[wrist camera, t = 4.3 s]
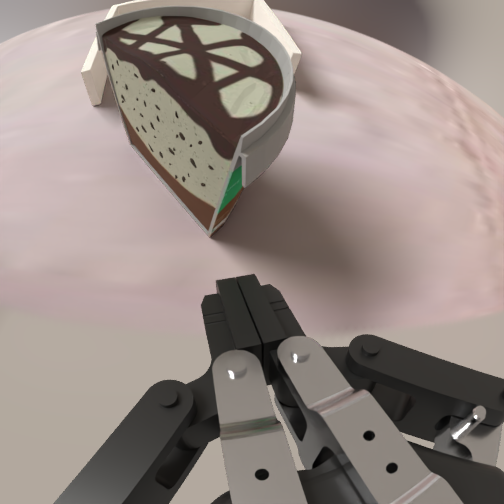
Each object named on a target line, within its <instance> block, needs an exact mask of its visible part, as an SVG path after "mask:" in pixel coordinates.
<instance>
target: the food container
mask: <svg viewBox="0 0 504 504" xmlns="http://www.w3.org/2000/svg"><path fill="white" fill-rule="evenodd" d="M96 30H97V32H96V38H97V45H98V50H99V51H100V50H101V51H102V55H103V59H104V62H105V66H106V70H107V73H108V77H109V80H110V84H111V87H112V91H113V94H114V97H115V100H116V104H117V107H118V110H119V113H120V116H121V119H122V122H123V125H124V128H125V131H126V134H127V137H128V140H129V143H130V145H131V146H132V148H133V149H134V150H135V151H136V152H137V154H138V155H139V156H140V157H141V158H142V160H143V161H144V162H145V163H146V164H147V165H148V167H149V168H150V169H151V170H152V171H153V173H154V174H155V175H156V176H157V177H158V179H159V180H160V181H161V182H162V183H163V184H164V186H165V187H166V188H167V189H168V190H169V191H170V193H171V194H172V195H173V196H174V197H175V198H176V200H177V201H178V202H179V203H180V204H181V205H182V207H183V208H184V209H185V210H186V211H187V212H188V214H189V215H190V216H191V217H192V218H193V219H194V220H195V222H196V223H197V224H198V225H199V226H200V227H201V228H202V230H203V231H204V232H205V233H206V234H207V235H208V236H209V238H210V237H211V236H212V235H213V234H214V233H215V232H216V231H218V230H219V229H220V228H221V227H222V226H223V225H224V223H225V221H226V220H227V218H228V216H229V215H230V213H231V211H232V210H233V208H234V206H235V205H236V202H237V200H238V198H239V196H240V194H241V192H242V190H243V188H244V187H245V188H246V187H247V186H248V185H250V184H251V183H252V182H253V181H254V180H255V179H257V178H258V177H259V176H260V175H261V174H263V173H264V172H265V170H266V169H267V168H268V167H269V166H270V165H271V163H272V162H273V161H274V160H275V159H276V158H277V156H278V155H279V153H280V152H281V150H282V148H283V146H284V144H285V143H286V141H287V139H288V136H289V133H290V129H291V126H292V122H293V113H294V104H295V92H296V81H295V77H294V73H293V66H292V62H291V59H290V56H289V54H288V52H287V51H286V49H285V47H284V46H283V45H282V44H281V42H280V41H279V40H278V39H277V38H276V37H275V36H274V35H273V34H271V33H270V32H269V31H268V30H266V29H265V28H263V27H262V26H260V25H258V24H257V23H255V22H253V21H251V20H249V19H246V18H244V17H242V16H239V15H236V14H233V13H230V12H226V11H223V10H218V9H213V8H207V7H198V6H162V7H154V8H147V9H141V10H137V11H132V12H128V13H124V14H121V15H118V16H115V17H112V18H109V19H107V20H104V21H102V22H99V23H97V24H96Z"/></svg>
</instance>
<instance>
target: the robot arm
mask: <svg viewBox="0 0 504 504" xmlns="http://www.w3.org/2000/svg"><path fill="white" fill-rule="evenodd" d="M216 288H217V294H212V295H206V296H205V297H204V299H203V301H202V304H201V308H202V314H203V319H204V324H205V330H206V335H207V340H208V344H209V349H210V354H211V358H212V361H211V365H210V367H209V369H208V371H207V372H206V373H205V374H204V375H203V376H201V377H200V378H198V379H196V380H194V381H192V382H190V383H188V384H184V383H182V382H180V381H176V380H164V381H160V382H158V383H156V384H154V385H153V386H151V387H150V388H149V389H148V391H147V392H146V393H145V394H144V396H143V397H142V398H141V399H140V401H139V402H138V403H137V404H136V405H135V407H134V408H133V409H132V410H131V411H130V412H129V414H128V415H127V416H126V417H125V419H124V420H123V421H122V422H121V423H120V425H119V426H118V427H117V428H116V429H115V431H114V432H113V433H112V434H111V435H110V437H109V438H108V439H107V440H106V442H105V443H104V444H103V445H102V446H101V448H100V449H99V450H98V451H97V452H96V454H95V455H94V456H93V457H92V458H91V460H90V461H89V462H88V463H87V464H86V466H85V467H84V468H83V469H82V470H81V472H80V473H79V474H78V475H77V476H76V477H75V479H74V480H73V481H72V482H71V483H70V485H69V486H68V487H67V488H66V489H65V491H64V492H63V493H62V494H61V495H60V496H59V498H58V499H57V500H56V501H55V502H54V504H169V502H170V501H171V500H172V498H173V497H174V495H175V494H176V492H177V491H178V489H179V488H180V486H181V485H182V483H183V482H184V480H185V479H186V477H187V476H188V474H189V473H190V471H191V470H192V468H193V467H194V465H195V464H196V462H197V460H198V459H199V457H200V456H201V454H202V452H203V451H204V449H205V448H206V446H207V444H208V442H210V441H212V440H214V439H216V438H218V437H220V439H221V445H222V451H223V457H224V463H225V469H226V474H227V479H228V485H229V491H227V492H226V493H224V494H222V495H221V496H220V497H218V498H217V499H215V500H214V501H213V502H212V503H211V504H504V472H503V471H502V470H501V469H499V468H497V467H496V462H497V457H498V451H499V445H500V438H501V431H502V424H503V422H504V379H502V378H498V377H495V376H492V375H488V374H485V373H482V372H479V371H476V370H473V369H470V368H466V367H463V366H460V365H457V364H454V363H451V362H448V361H445V360H442V359H439V358H436V357H433V356H431V355H428V354H425V353H422V352H419V351H416V350H413V349H410V348H407V347H405V346H402V345H399V344H397V343H394V342H391V341H388V340H386V339H383V338H380V337H377V336H374V335H368V334H366V335H360V336H357V337H355V338H354V339H353V340H352V341H351V342H350V345H349V347H323V346H321V345H320V344H319V343H318V342H317V341H315V340H314V339H312V338H309V337H306V335H305V334H304V332H303V330H302V329H301V327H300V325H299V323H298V322H297V320H296V318H295V317H294V315H293V313H292V312H291V310H290V309H289V306H288V305H287V303H286V301H285V300H284V298H283V296H282V294H281V293H280V291H279V290H277V289H276V288H275V287H273V286H272V285H270V284H268V285H263V286H261V285H260V283H259V281H258V279H257V277H256V276H255V274H251V275H245V276H239V277H236V278H235V277H234V278H228V279H222V280H216ZM267 385H272V387H273V390H274V392H275V398H274V399H275V403H276V406H277V408H278V410H279V411H280V414H281V416H282V417H283V419H284V421H285V423H286V425H287V427H288V429H289V431H290V433H291V435H292V436H293V438H294V440H295V442H296V444H297V447H298V451H299V456H300V459H301V461H302V464H303V465H304V467H305V469H306V470H300V471H297V470H296V467H295V464H294V460H293V457H292V454H291V451H290V448H289V444H288V441H287V438H286V435H285V432H284V429H283V426H282V424H281V422H280V421H278V420H277V418H276V416H275V412H274V409H273V405H272V402H271V399H270V395H269V392H268V388H267ZM400 432H402V433H405V434H408V435H412V436H415V437H418V438H421V439H424V440H427V441H431V442H434V443H435V445H434V448H433V449H430V448H427V447H424V446H421V445H418V444H416V443H412V442H410V441H406V439H405V438H404V437H403V435H402V434H401V433H400Z"/></svg>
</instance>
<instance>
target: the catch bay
mask: <svg viewBox="0 0 504 504" xmlns="http://www.w3.org/2000/svg"><path fill="white" fill-rule="evenodd" d="M162 6H198V7H207V8H213V9H218V10H223V11H226V12H230V13H233V14H236V15H239V16H242V17H244V18H246V19H249V20H251V21H253V22H255V23H257V24H258V25H260V26H262V27H263V28H265V29H266V30H268V31H269V32H270V33H271V34H273V35H274V36H275V37H276V38H277V39H278V40H279V41H280V42H281V44H282V45H283V46H284V47H285V49H286V51H287V52H288V54H289V56H290V59H291V62H292V66H293V73H294V74H295V71H296V69H297V66H298V63H299V61H300V58H301V55H302V53H301V51H300V50H299V48H298V47H297V45H296V44H295V42H294V41H293V39H292V38H291V37H290V35H289V34H288V32H287V31H286V29H285V28H284V27H283V25H282V24H281V22H280V21H279V20H278V18H277V17H276V16H275V14H274V13H273V12H272V11H271V9H270V8H269V7H268V5H267V4H266V3H265V2H264V0H136V1H131V2H126V3H122V4H117V5H113V6H112V7H111V9H110V11H109V12H108V14H107V16H106V18H105V20H107V19H109V18H112V17H115V16H118V15H121V14H124V13H128V12H132V11H137V10H141V9H147V8H154V7H162ZM81 74H82V77H83V80H84V83H85V86H86V89H87V92H88V95H89V98H90V101H91V103H92V106H95V105H98V104H101V101H102V96H103V92H104V87H105V83H106V79H107V75H108V73H107V70H106V66H105V62H104V59H103V55H102V51H101V50H100V51H99V50H98V45H97V38H95V40H94V42H93V45H92V47H91V49H90V51H89V54H88V56H87V58H86V61H85V63H84V66H83V68H82V71H81Z"/></svg>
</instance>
